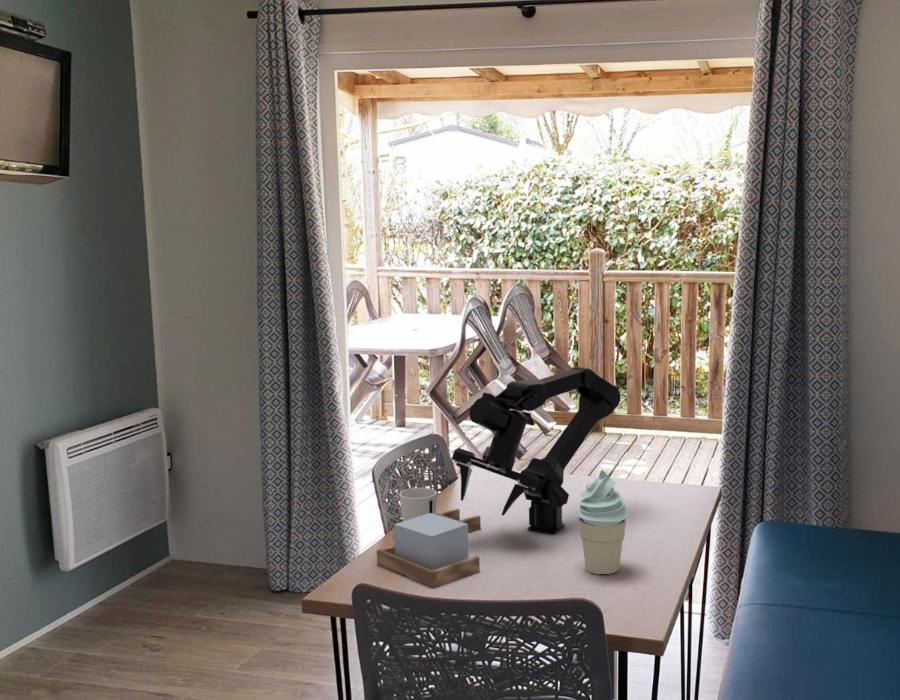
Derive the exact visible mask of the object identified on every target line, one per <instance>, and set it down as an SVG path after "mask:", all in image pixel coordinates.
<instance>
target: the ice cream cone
mask: <svg viewBox="0 0 900 700" xmlns="http://www.w3.org/2000/svg"><path fill="white" fill-rule="evenodd" d="M616 484H617V482H616V481H614V480H613V479H612V478H611V477H610V476H609V474H608V473H606V471H605V470H604V469H603V470H600V472H599V474H598V477H597V478H596V479H594V481H593V482H592V483H587V484H586V490H584V491H582V492H581V493H580V496H581V498H583V499H582V500H580V501H579V504H580V505H579V508H578V510H577V515H578V526H579V534H580V539H581V542H582V550H583V551H582V552H583V556H584V557H583V558H584V567H585V570H586V571H587V572H589V573H590V574H593V573H594V574H593V575H599V574H608V573H613V572H616V571H618V570H619V571H620V565H621V556H622V549H623V542H624V540H625V533H626V526H627V520H626V519H627V518H628V517H629V515H630V510H629V508H628V507H627V506H626V505H625V504H626V503H625V500H624V498H623V497H622V496H621V494H620V492H618V490H615V489H614V487H615V486H616ZM619 571H618V572H619ZM616 573H617V572H616Z"/></svg>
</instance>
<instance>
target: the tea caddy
mask: <svg viewBox="0 0 900 700" xmlns="http://www.w3.org/2000/svg"><path fill="white" fill-rule="evenodd" d="M393 530H394V531H393V532H394V533H393V535H394V536H393V537H394V545H395V555H396V556H399V557H401V558H404V559H406V560H409V561H411V562H414V563H416V564H419V565H421V566H424V567H426V568H428V569H431V570H435V569H438V568H441V567H444V566H447V565H450V564H453V563H456V562H459V561H462V560H465V559H468V558H470V557H469V556H470V555H469V533H468V524H466V523H463V522H459V521H456V520H452V519H449V518H446V517H442V516H439V515H435V514H432V513H428V514H425V515H422V516H419V517H416V518H413V519H409V520H406V521H403V520H402V521H401V522H397V523H394V524H393Z"/></svg>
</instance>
